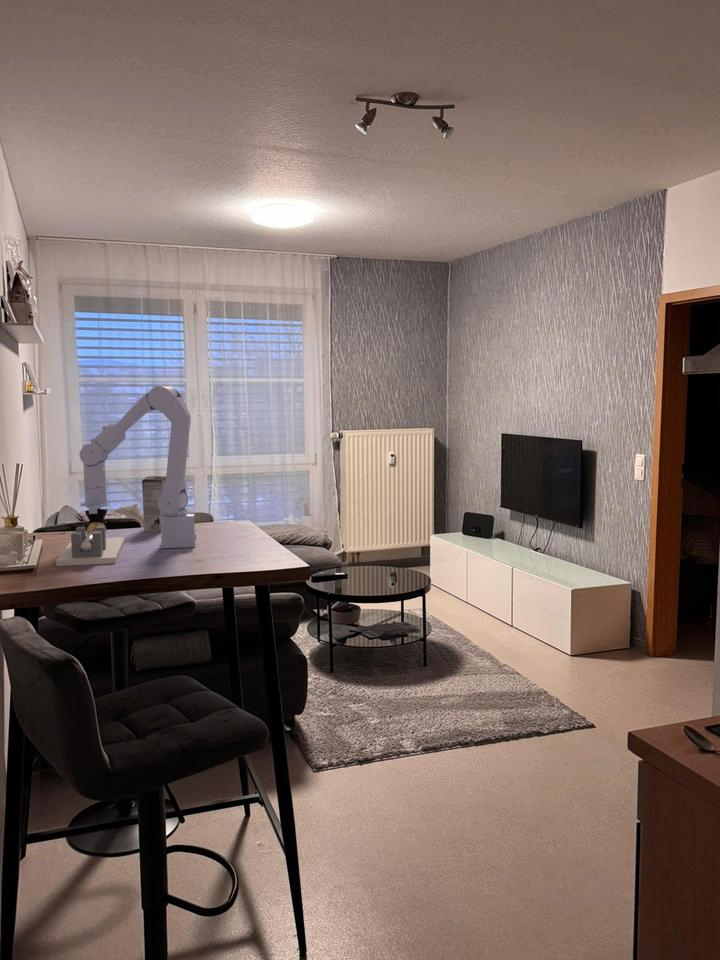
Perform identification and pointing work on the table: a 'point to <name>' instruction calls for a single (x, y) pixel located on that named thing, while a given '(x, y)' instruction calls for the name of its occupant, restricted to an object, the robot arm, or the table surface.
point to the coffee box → (152, 502)
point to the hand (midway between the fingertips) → (97, 535)
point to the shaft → (90, 536)
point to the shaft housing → (91, 549)
